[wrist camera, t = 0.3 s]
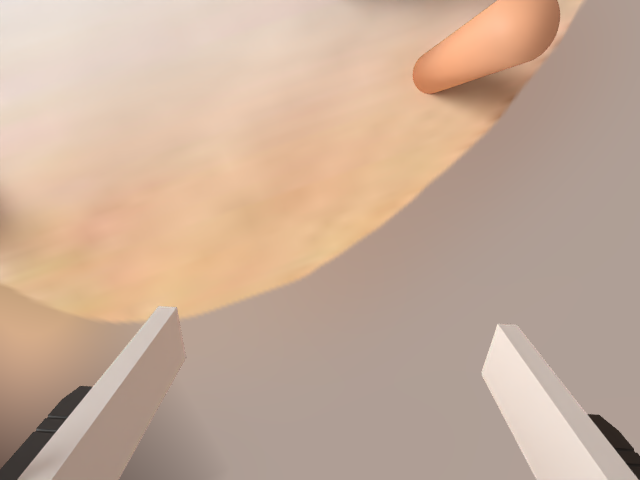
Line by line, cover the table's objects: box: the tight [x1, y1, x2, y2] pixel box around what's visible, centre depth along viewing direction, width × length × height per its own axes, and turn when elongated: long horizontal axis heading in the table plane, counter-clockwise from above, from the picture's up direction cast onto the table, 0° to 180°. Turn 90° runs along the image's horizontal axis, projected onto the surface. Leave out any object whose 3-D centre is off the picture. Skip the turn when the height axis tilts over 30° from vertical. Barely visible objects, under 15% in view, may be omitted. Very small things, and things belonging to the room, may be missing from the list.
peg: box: [413, 0, 560, 94], centre depth 26 cm, size 4×4×16 cm
